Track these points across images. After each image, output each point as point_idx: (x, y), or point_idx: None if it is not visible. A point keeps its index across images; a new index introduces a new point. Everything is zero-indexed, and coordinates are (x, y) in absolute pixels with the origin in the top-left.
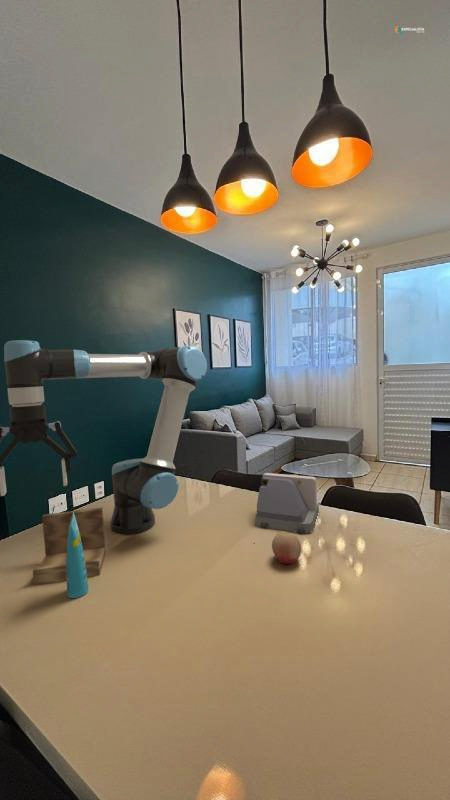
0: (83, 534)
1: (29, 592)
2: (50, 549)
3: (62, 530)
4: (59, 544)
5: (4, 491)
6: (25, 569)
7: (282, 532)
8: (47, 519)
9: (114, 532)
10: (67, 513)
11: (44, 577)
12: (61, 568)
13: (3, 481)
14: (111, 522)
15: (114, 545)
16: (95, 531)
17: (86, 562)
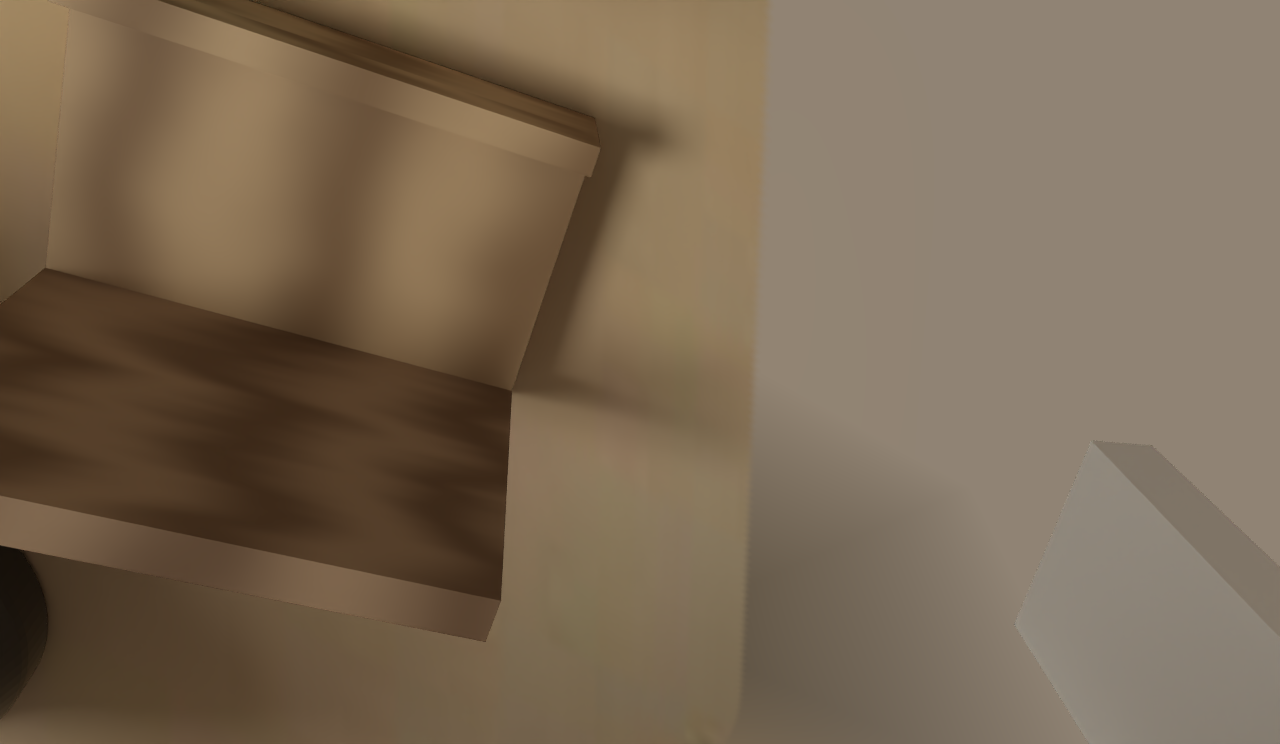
0: (170, 377)
1: (627, 35)
2: (472, 403)
3: (343, 458)
4: (398, 400)
5: (1114, 522)
6: (644, 364)
7: None
8: (454, 564)
9: None
10: (240, 548)
11: (524, 103)
12: (389, 70)
13: (1262, 707)
14: (4, 636)
15: None
16: (44, 356)
17: (167, 2)
